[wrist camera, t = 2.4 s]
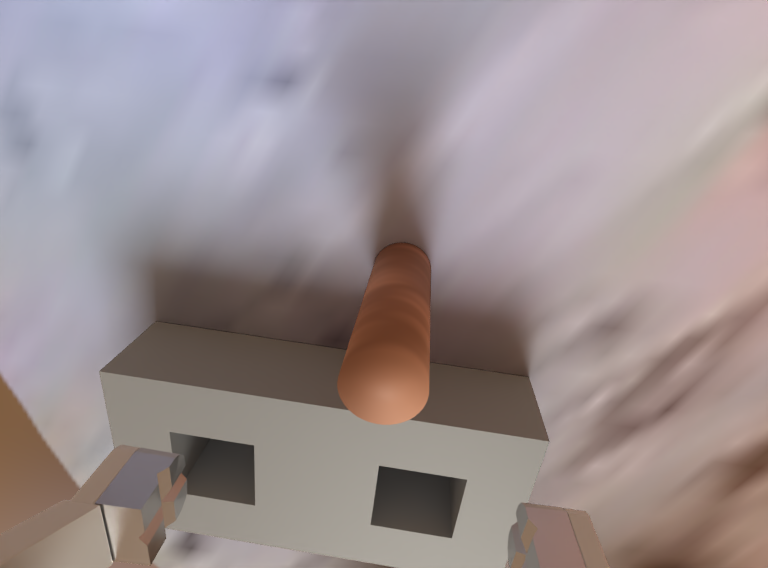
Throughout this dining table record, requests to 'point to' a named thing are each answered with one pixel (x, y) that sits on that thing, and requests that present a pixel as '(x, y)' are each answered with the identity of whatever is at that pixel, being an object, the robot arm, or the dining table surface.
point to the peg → (390, 340)
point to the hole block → (328, 449)
